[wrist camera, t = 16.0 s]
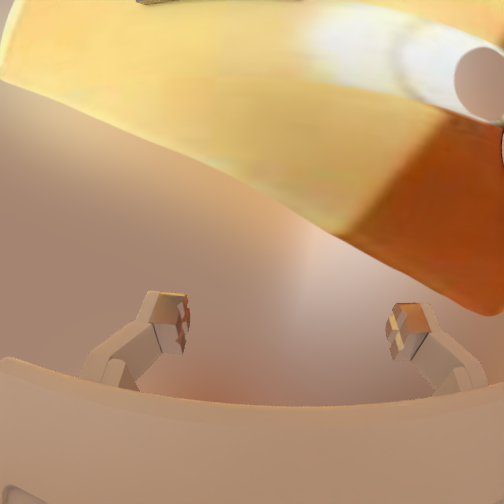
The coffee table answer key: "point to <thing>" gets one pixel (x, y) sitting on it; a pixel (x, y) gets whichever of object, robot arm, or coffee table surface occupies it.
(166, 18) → the coffee table surface
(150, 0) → the rosette socket
